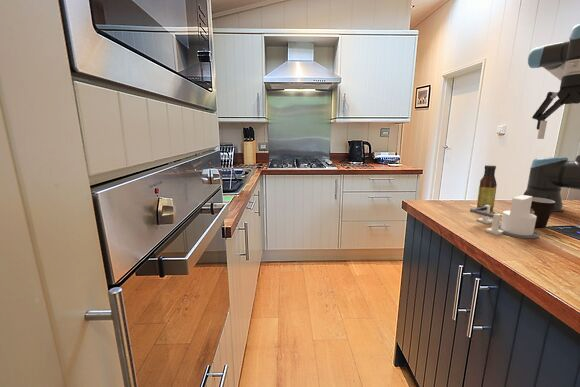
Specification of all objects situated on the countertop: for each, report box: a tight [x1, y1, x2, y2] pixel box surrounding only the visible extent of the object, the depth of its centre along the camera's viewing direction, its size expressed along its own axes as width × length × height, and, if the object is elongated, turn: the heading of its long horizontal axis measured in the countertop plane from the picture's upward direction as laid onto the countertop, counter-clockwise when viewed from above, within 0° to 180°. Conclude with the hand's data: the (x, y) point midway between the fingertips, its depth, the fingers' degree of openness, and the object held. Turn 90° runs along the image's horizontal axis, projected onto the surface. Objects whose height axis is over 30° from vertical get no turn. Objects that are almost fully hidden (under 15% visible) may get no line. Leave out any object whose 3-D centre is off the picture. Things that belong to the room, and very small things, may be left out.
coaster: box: [499, 224, 540, 240], centre depth 98 cm, size 12×12×1 cm
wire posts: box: [476, 205, 504, 236], centre depth 103 cm, size 18×6×6 cm, turn 159°
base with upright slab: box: [500, 194, 537, 235], centre depth 97 cm, size 9×9×12 cm
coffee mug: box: [530, 197, 555, 230], centre depth 106 cm, size 12×9×10 cm
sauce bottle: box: [476, 164, 498, 212], centre depth 124 cm, size 6×6×20 cm
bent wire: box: [469, 207, 495, 219], centre depth 103 cm, size 10×10×1 cm
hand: (563, 139), depth 98 cm, fingers open, 13 cm apart
